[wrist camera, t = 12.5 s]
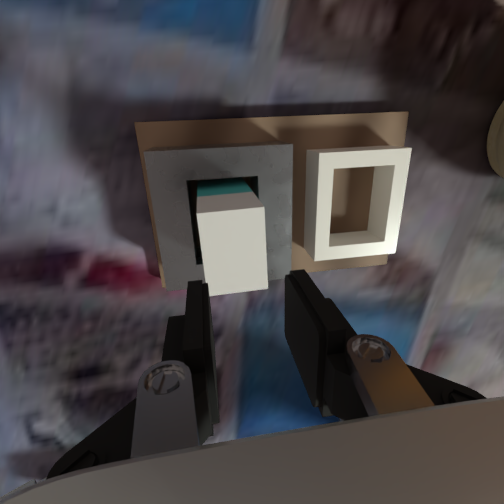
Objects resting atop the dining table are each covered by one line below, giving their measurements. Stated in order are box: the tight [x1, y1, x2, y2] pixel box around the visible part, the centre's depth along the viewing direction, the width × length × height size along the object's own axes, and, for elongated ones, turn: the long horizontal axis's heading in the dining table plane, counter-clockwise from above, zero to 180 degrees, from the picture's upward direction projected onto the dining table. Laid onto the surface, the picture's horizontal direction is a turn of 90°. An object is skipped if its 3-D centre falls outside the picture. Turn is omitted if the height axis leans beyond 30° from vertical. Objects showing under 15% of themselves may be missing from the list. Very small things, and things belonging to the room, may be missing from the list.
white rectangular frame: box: [304, 145, 412, 261], centre depth 26 cm, size 7×9×3 cm
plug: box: [196, 177, 268, 296], centre depth 22 cm, size 4×5×10 cm
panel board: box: [134, 111, 409, 288], centre depth 28 cm, size 22×14×2 cm, turn 92°
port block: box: [144, 141, 293, 291], centre depth 25 cm, size 10×10×4 cm
